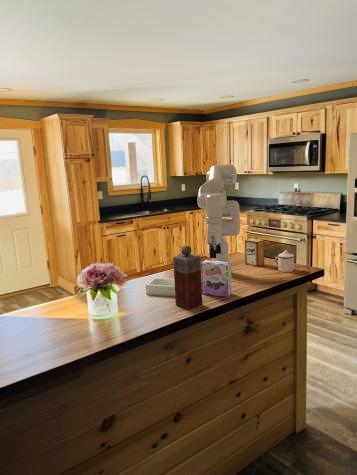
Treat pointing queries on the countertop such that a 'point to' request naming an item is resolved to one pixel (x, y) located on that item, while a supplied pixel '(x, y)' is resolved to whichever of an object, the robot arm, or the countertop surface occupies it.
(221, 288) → the candy box
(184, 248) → the red canister with lid
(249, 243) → the baking soda box
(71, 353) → the countertop surface
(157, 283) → the tray
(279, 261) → the teacup with lid
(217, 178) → the robot arm
